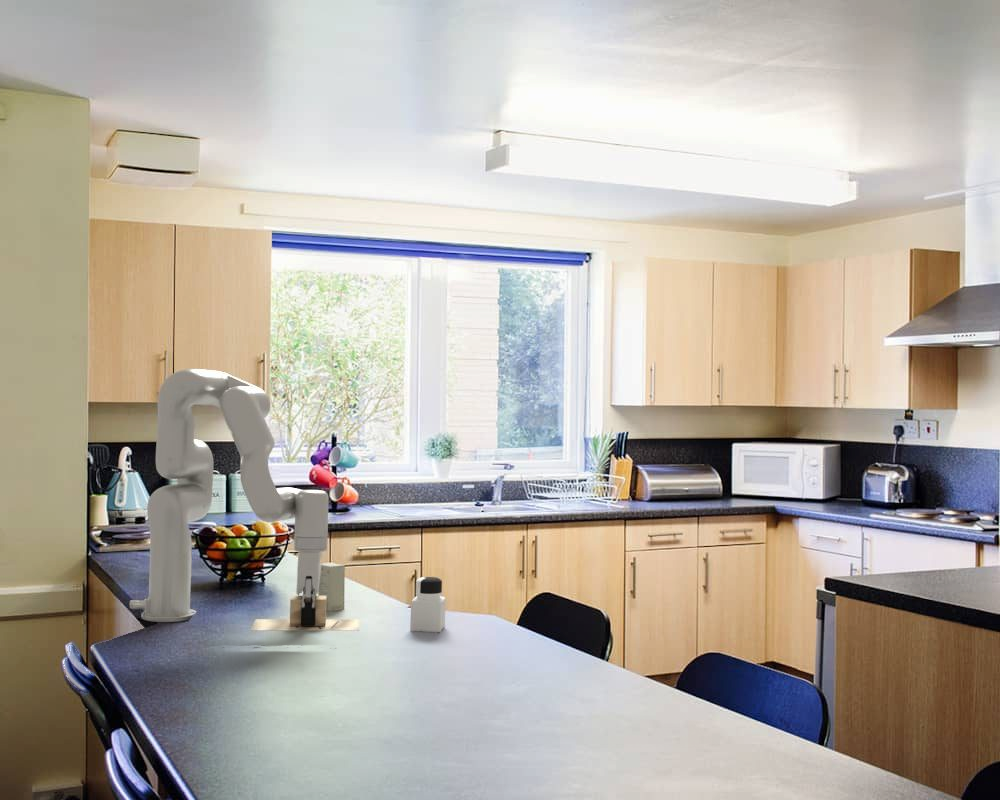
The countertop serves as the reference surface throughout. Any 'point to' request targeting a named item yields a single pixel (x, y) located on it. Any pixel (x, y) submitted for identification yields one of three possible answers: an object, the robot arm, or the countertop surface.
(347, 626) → the board
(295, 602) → the block
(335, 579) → the skincare box
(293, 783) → the countertop surface
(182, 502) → the robot arm
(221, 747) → the countertop surface
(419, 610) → the medicine bottle
